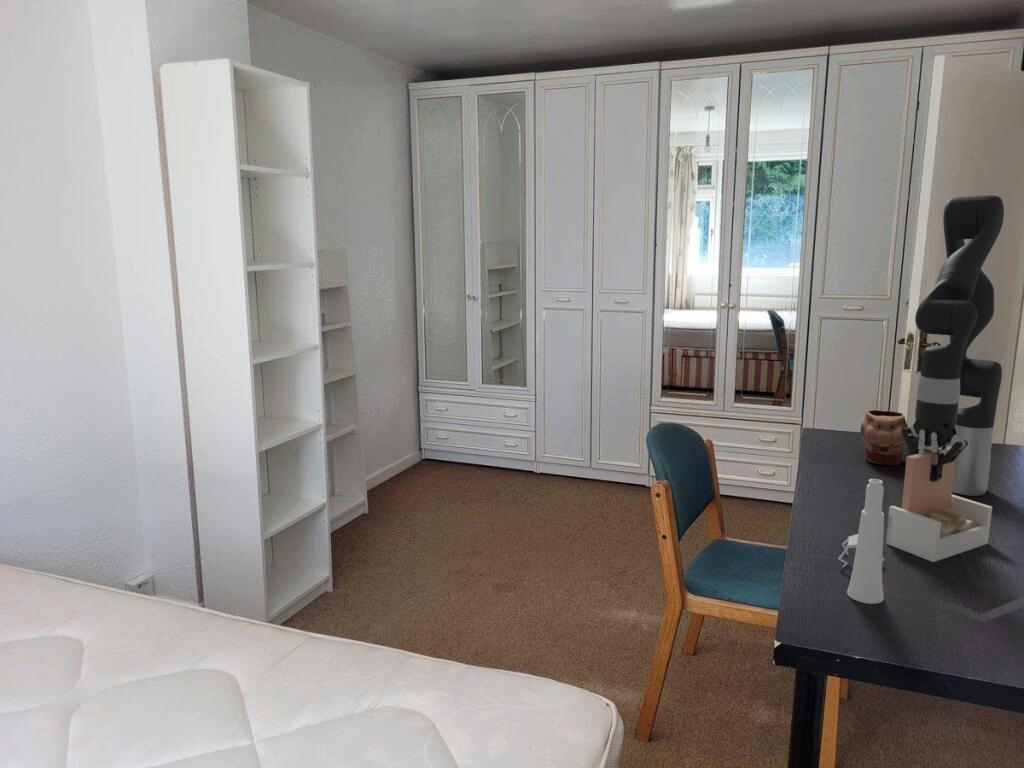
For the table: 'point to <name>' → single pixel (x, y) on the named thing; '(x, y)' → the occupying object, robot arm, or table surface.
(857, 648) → the table surface
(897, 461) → the decorative planter
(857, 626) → the table surface
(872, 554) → the cosmetic bottle
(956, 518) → the offcut small
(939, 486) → the board
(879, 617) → the table surface
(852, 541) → the origami figure
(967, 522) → the offcut mid
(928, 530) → the rack
